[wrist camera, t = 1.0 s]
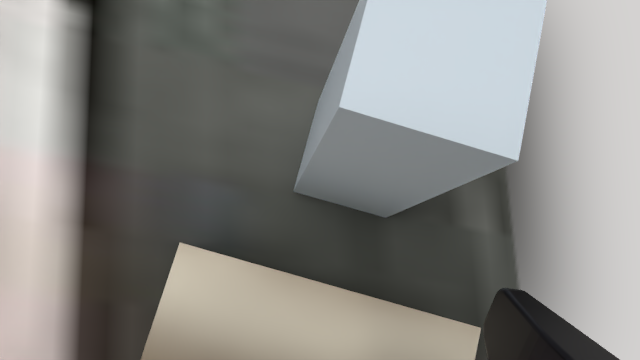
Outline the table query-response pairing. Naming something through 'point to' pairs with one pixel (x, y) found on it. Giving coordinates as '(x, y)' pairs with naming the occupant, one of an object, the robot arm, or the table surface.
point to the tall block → (421, 101)
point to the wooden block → (288, 318)
